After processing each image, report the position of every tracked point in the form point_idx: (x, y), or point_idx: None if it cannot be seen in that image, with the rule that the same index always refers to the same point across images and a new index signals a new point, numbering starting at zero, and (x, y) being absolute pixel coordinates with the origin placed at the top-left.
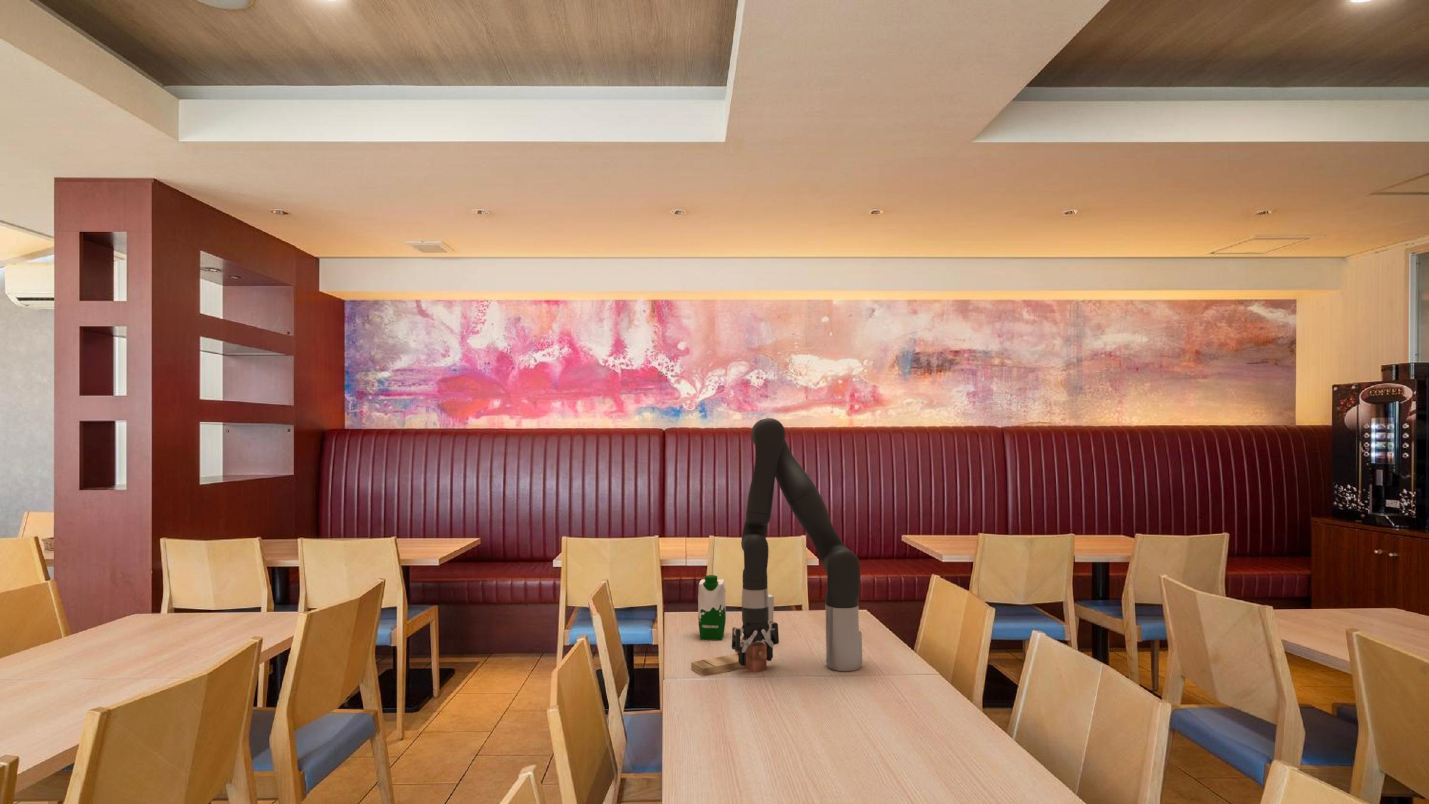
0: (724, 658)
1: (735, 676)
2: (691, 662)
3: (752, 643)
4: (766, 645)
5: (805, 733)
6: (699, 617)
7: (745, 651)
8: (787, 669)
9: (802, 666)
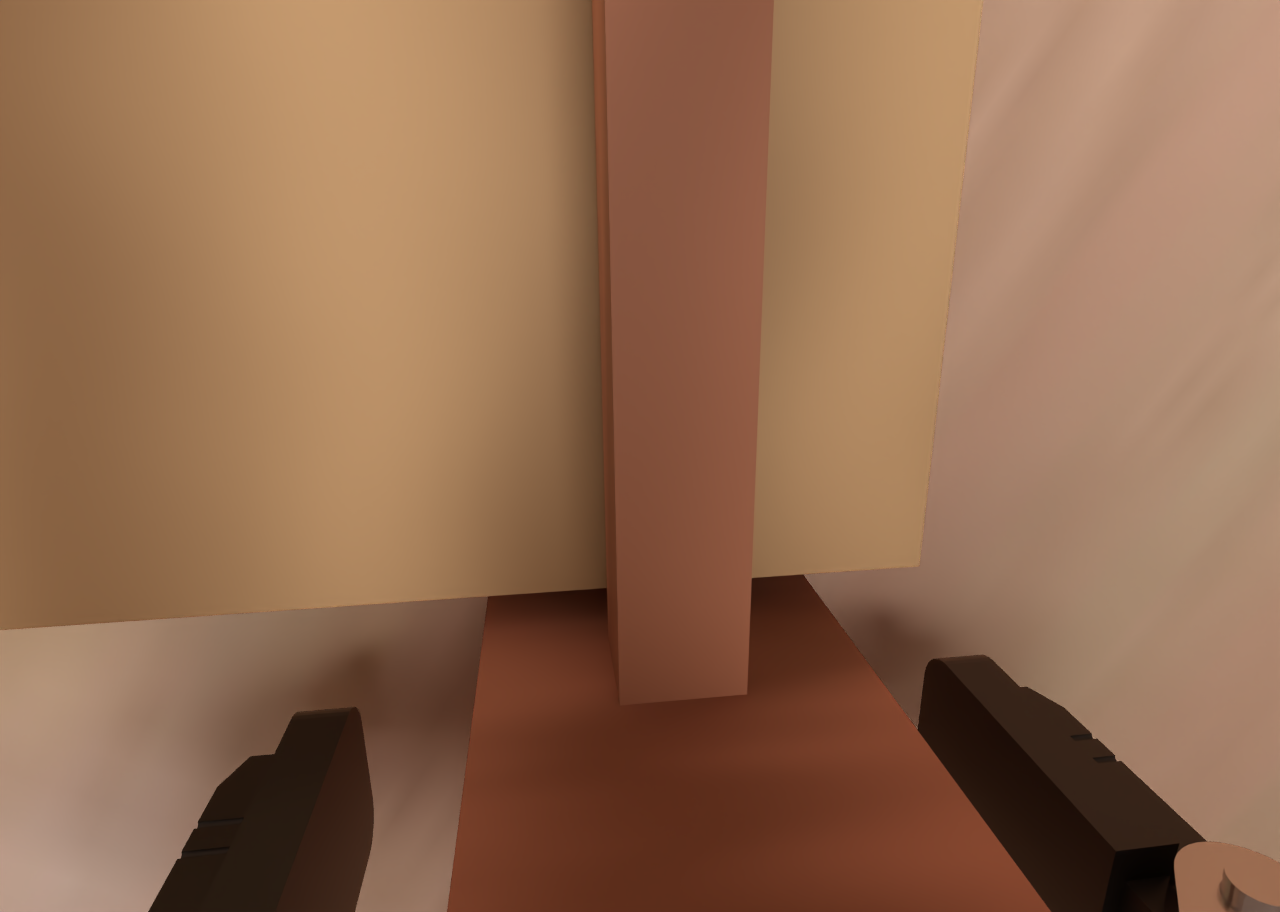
0: (75, 180)
1: (135, 828)
2: None
3: None
4: (1145, 902)
5: None
6: None
7: (467, 793)
8: None
9: (1254, 821)
